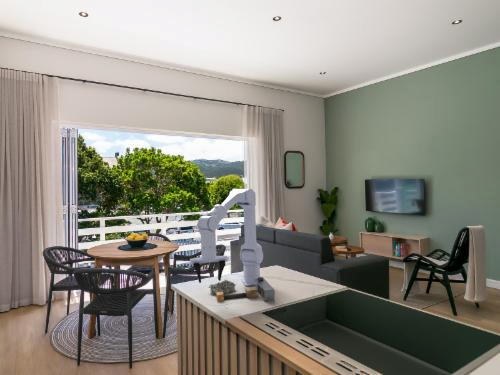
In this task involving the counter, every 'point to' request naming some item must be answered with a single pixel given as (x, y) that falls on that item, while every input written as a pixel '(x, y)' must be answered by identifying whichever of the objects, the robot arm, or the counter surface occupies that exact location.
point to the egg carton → (222, 287)
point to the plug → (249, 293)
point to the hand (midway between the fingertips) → (209, 281)
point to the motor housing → (264, 289)
